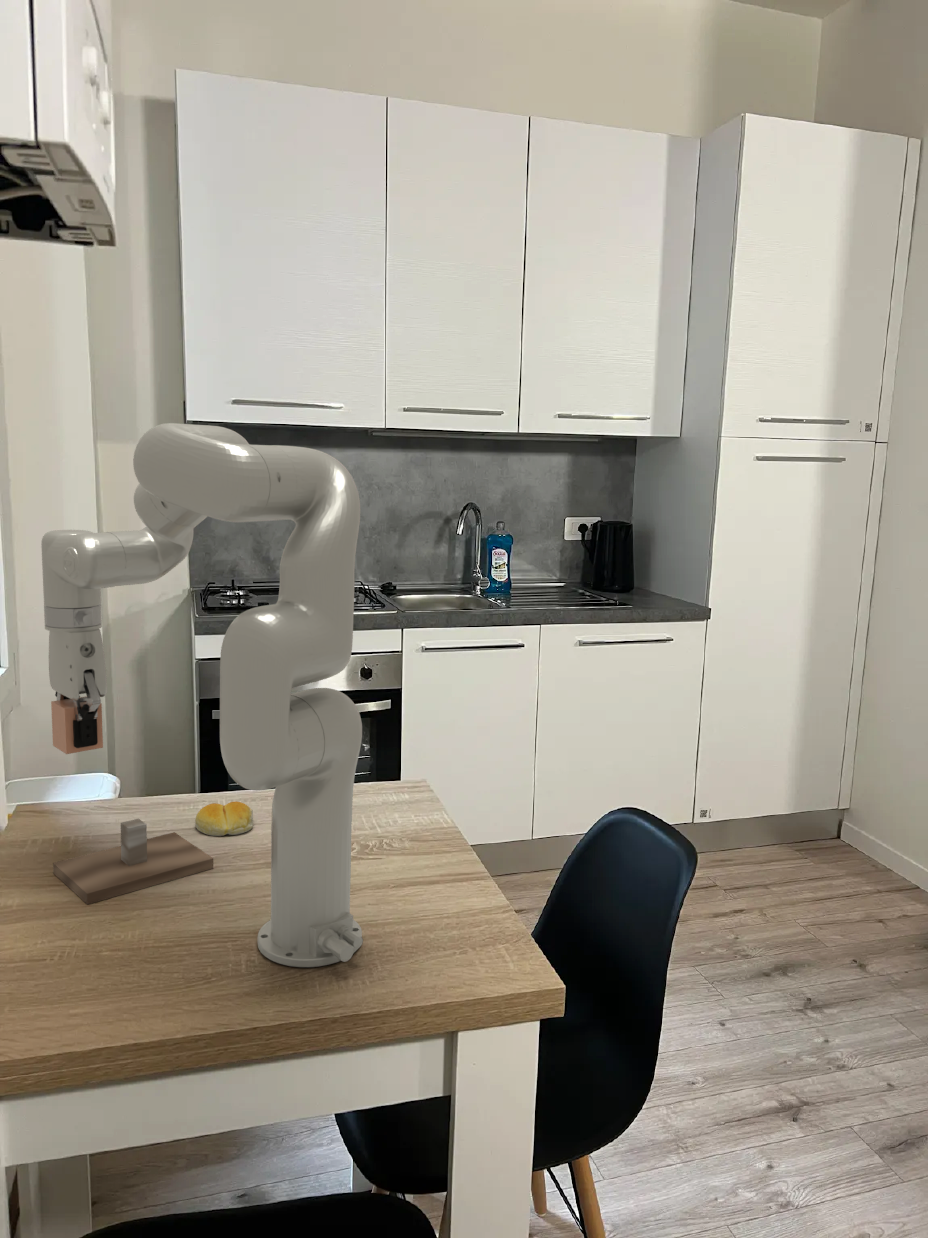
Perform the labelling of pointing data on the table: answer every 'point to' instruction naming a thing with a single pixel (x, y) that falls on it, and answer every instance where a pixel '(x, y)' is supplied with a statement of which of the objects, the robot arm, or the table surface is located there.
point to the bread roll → (224, 819)
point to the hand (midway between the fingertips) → (77, 740)
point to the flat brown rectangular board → (131, 864)
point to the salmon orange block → (70, 726)
